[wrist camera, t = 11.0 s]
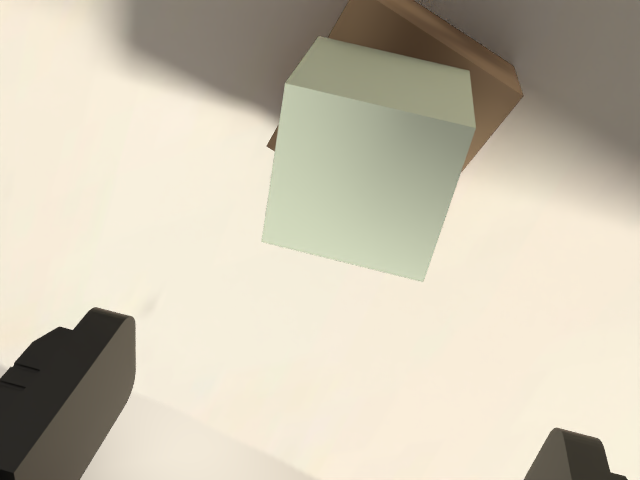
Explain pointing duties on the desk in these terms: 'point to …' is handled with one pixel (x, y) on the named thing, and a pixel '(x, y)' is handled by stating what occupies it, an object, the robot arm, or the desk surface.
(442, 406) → the desk surface
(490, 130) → the walnut block
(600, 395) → the desk surface
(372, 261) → the sage cube
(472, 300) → the desk surface
